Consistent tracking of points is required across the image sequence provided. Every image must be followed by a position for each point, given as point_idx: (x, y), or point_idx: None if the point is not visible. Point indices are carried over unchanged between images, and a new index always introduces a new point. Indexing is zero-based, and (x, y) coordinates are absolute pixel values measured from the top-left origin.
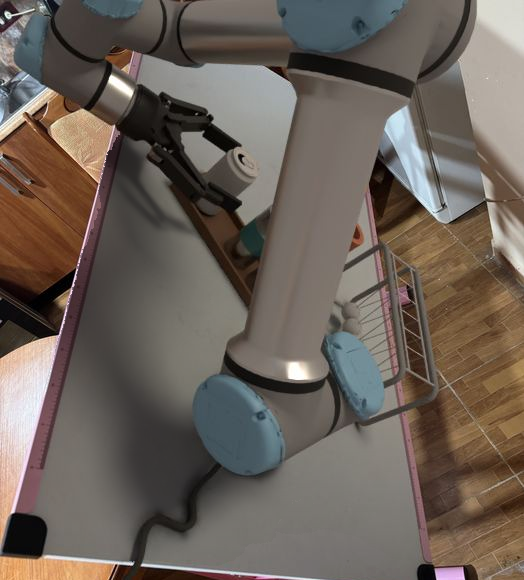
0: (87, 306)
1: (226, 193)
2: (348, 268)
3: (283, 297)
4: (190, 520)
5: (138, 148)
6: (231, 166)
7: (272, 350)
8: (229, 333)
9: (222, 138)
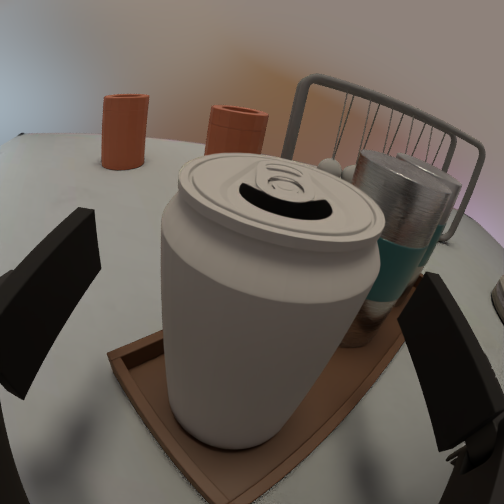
0: None
1: (466, 330)
2: (295, 142)
3: None
4: None
5: None
6: (363, 282)
7: None
8: (480, 340)
9: (42, 289)
